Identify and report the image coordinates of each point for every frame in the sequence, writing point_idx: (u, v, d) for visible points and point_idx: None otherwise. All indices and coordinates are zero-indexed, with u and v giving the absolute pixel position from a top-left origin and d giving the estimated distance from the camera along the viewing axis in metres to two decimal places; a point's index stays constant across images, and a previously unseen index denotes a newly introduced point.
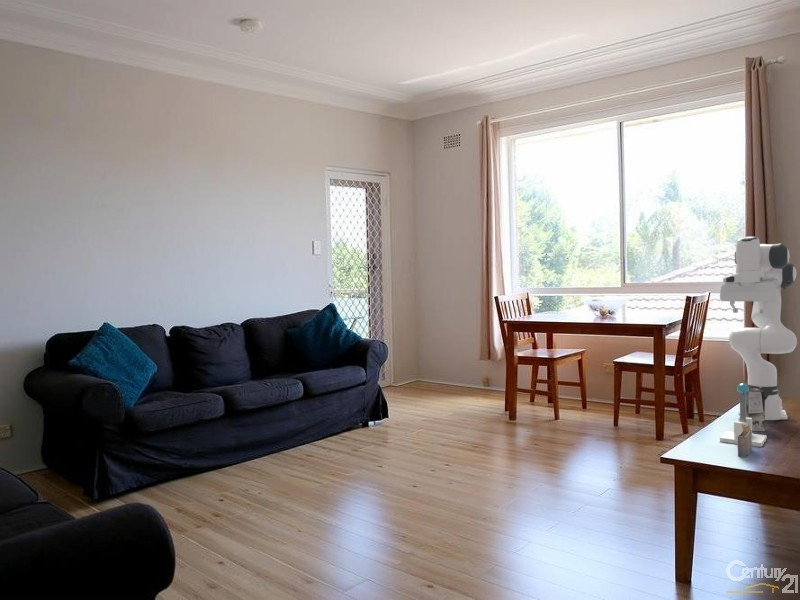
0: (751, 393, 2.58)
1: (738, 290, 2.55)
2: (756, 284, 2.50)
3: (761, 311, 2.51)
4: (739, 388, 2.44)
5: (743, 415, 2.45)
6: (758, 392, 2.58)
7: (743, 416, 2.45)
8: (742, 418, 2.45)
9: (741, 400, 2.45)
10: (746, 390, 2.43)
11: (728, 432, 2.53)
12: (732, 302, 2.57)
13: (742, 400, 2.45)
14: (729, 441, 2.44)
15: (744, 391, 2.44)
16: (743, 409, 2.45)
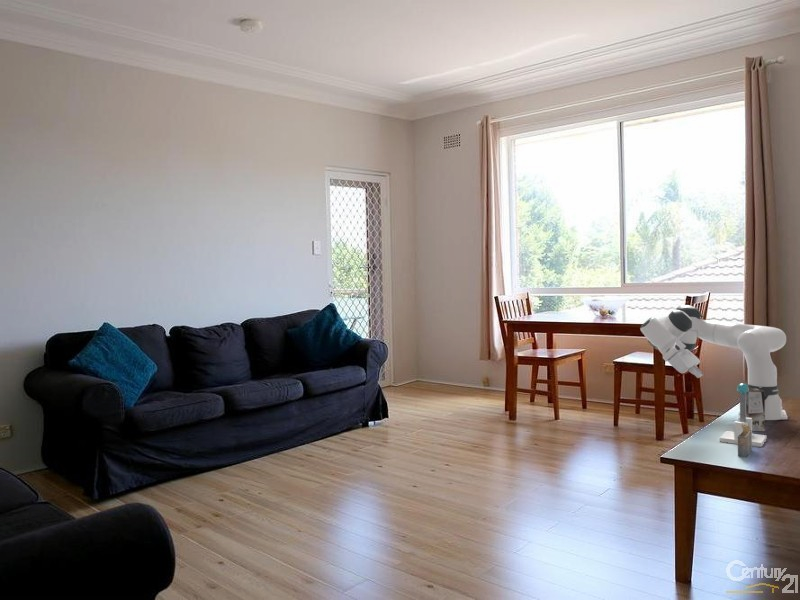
0: (751, 393, 2.58)
1: (684, 358, 2.54)
2: None
3: (701, 373, 2.54)
4: (739, 388, 2.44)
5: (743, 415, 2.45)
6: (758, 392, 2.58)
7: (743, 416, 2.45)
8: (742, 418, 2.45)
9: (741, 400, 2.45)
10: (746, 390, 2.43)
11: (728, 432, 2.53)
12: (693, 367, 2.54)
13: (742, 400, 2.45)
14: (729, 441, 2.44)
15: (744, 391, 2.44)
16: (743, 409, 2.45)
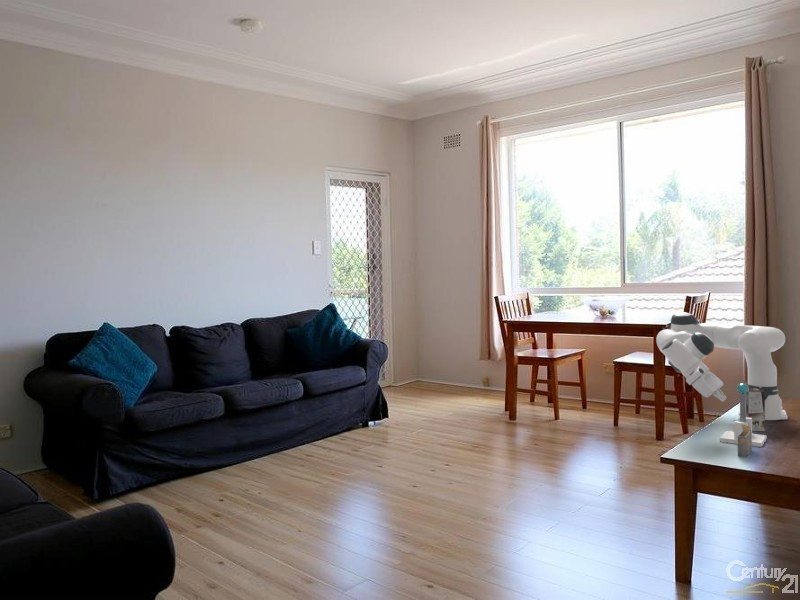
0: (751, 393, 2.58)
1: (708, 381, 2.49)
2: None
3: (725, 397, 2.50)
4: (739, 388, 2.44)
5: (743, 415, 2.45)
6: (758, 392, 2.58)
7: (743, 416, 2.45)
8: (742, 418, 2.45)
9: (741, 400, 2.45)
10: (746, 390, 2.43)
11: (728, 432, 2.53)
12: (717, 391, 2.49)
13: (742, 400, 2.45)
14: (729, 441, 2.44)
15: (744, 391, 2.44)
16: (743, 409, 2.45)
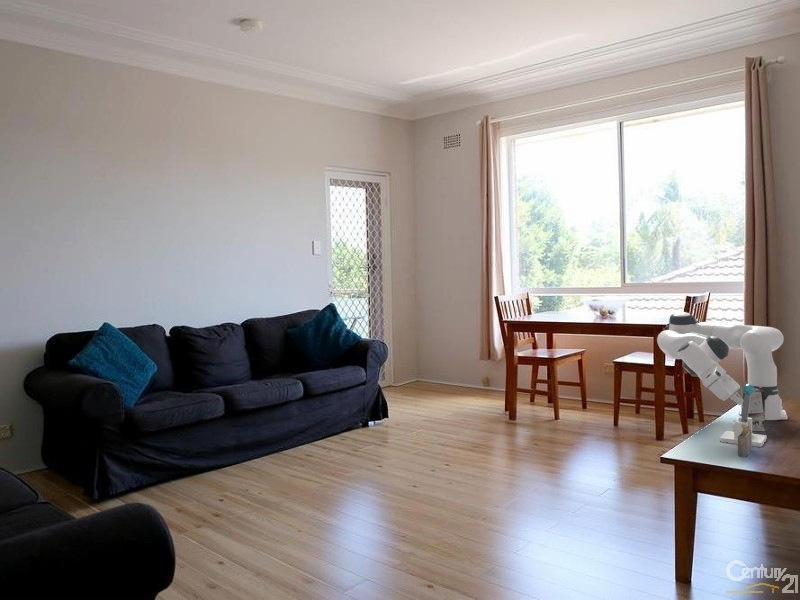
0: None
1: (724, 384, 2.46)
2: None
3: (742, 400, 2.46)
4: (745, 388, 2.43)
5: (745, 415, 2.45)
6: (758, 392, 2.58)
7: (745, 416, 2.45)
8: (743, 418, 2.45)
9: (745, 400, 2.44)
10: (752, 391, 2.42)
11: (728, 432, 2.53)
12: (734, 394, 2.45)
13: (746, 401, 2.44)
14: (729, 441, 2.44)
15: (749, 392, 2.42)
16: (746, 410, 2.44)
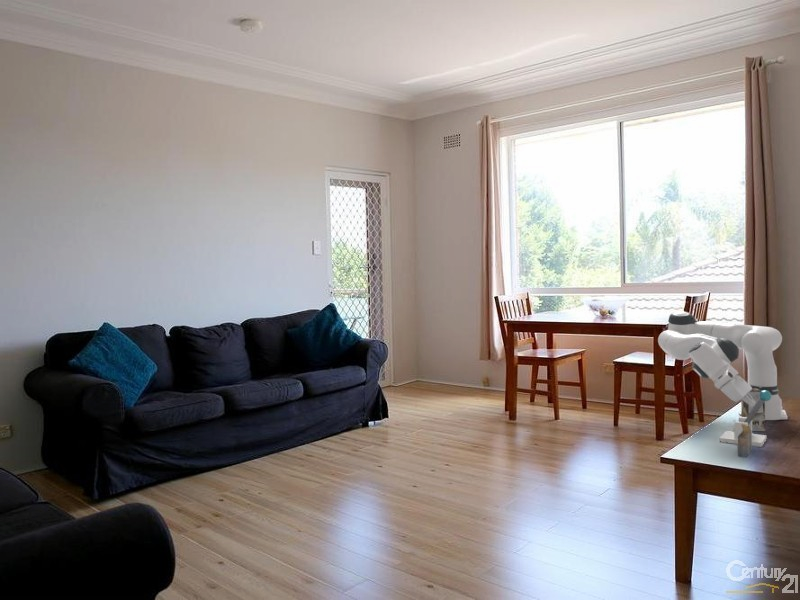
0: (751, 393, 2.58)
1: (737, 385, 2.43)
2: None
3: (755, 402, 2.43)
4: (762, 394, 2.40)
5: (750, 418, 2.43)
6: (758, 392, 2.58)
7: (750, 419, 2.44)
8: (747, 420, 2.44)
9: (757, 405, 2.42)
10: (768, 399, 2.39)
11: (728, 432, 2.53)
12: (747, 395, 2.43)
13: (758, 405, 2.42)
14: (729, 441, 2.44)
15: (765, 399, 2.39)
16: (754, 413, 2.43)
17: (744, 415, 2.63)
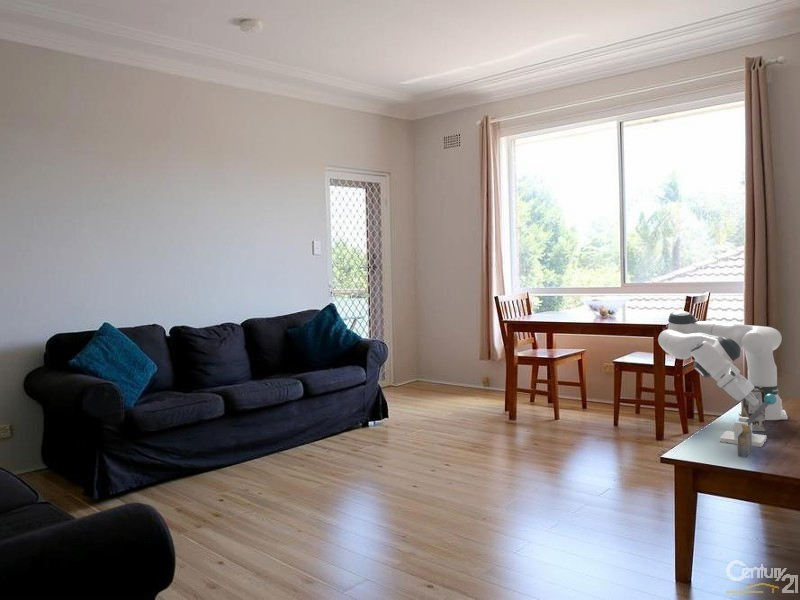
0: None
1: (739, 384, 2.42)
2: (738, 376, 2.48)
3: (757, 400, 2.43)
4: (768, 397, 2.39)
5: (752, 419, 2.43)
6: (758, 392, 2.58)
7: (751, 420, 2.43)
8: (749, 421, 2.44)
9: (761, 407, 2.41)
10: (772, 403, 2.38)
11: (728, 432, 2.53)
12: (749, 394, 2.42)
13: (761, 408, 2.41)
14: (729, 441, 2.44)
15: (770, 402, 2.38)
16: (756, 415, 2.42)
17: (744, 415, 2.63)
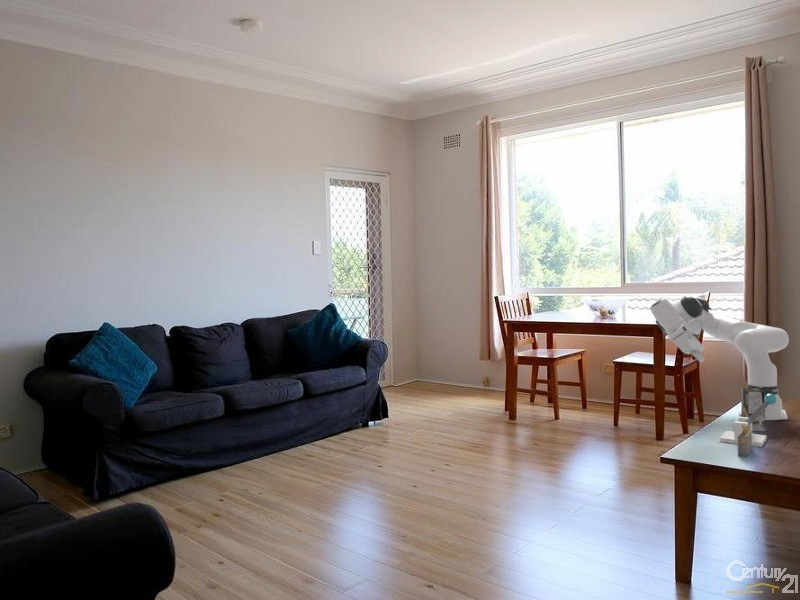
0: (751, 393, 2.58)
1: (689, 340, 2.56)
2: None
3: (704, 358, 2.56)
4: (768, 397, 2.39)
5: (752, 419, 2.43)
6: (758, 392, 2.58)
7: (751, 420, 2.43)
8: (749, 421, 2.44)
9: (761, 407, 2.41)
10: (772, 403, 2.38)
11: (728, 432, 2.53)
12: (697, 351, 2.55)
13: (761, 408, 2.41)
14: (729, 441, 2.44)
15: (770, 402, 2.38)
16: (756, 415, 2.42)
17: (744, 415, 2.63)
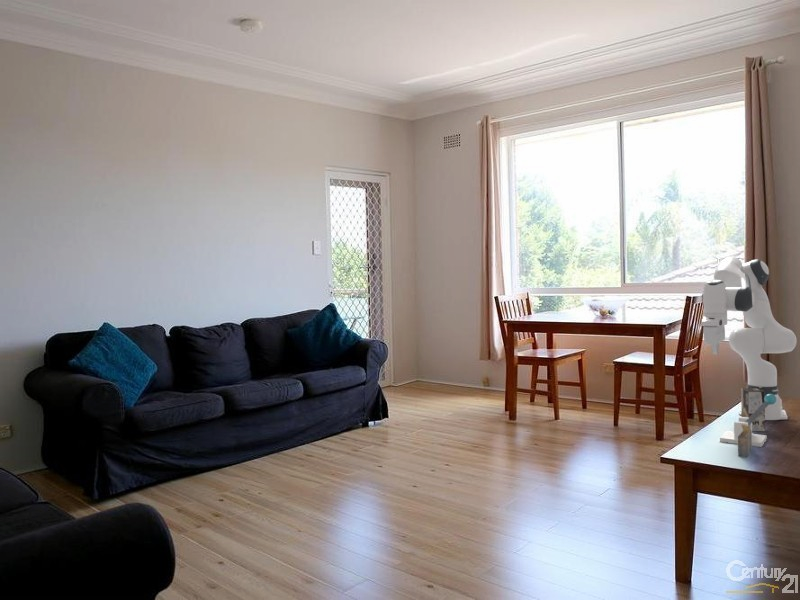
0: (751, 393, 2.58)
1: (717, 332, 2.57)
2: None
3: (717, 352, 2.61)
4: (768, 397, 2.39)
5: (752, 419, 2.43)
6: (758, 392, 2.58)
7: (751, 420, 2.43)
8: (749, 421, 2.44)
9: (761, 407, 2.41)
10: (772, 403, 2.38)
11: (728, 432, 2.53)
12: (717, 344, 2.59)
13: (761, 408, 2.41)
14: (729, 441, 2.44)
15: (770, 402, 2.38)
16: (756, 415, 2.42)
17: (744, 415, 2.63)
